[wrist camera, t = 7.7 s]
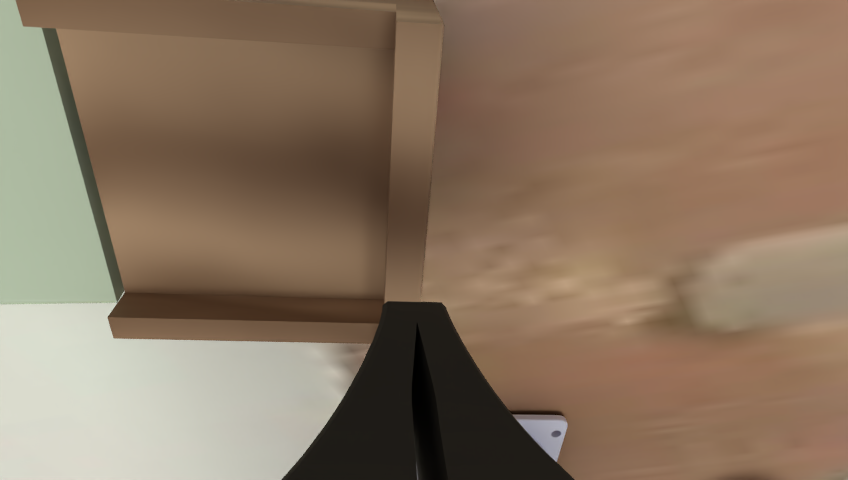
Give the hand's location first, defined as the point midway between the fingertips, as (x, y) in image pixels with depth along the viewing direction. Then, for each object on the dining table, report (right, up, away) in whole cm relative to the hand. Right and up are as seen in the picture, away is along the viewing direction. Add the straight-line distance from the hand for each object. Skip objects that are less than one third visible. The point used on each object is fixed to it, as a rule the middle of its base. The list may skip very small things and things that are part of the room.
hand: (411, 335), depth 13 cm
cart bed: (-5, +5, +8) cm, 11 cm away
